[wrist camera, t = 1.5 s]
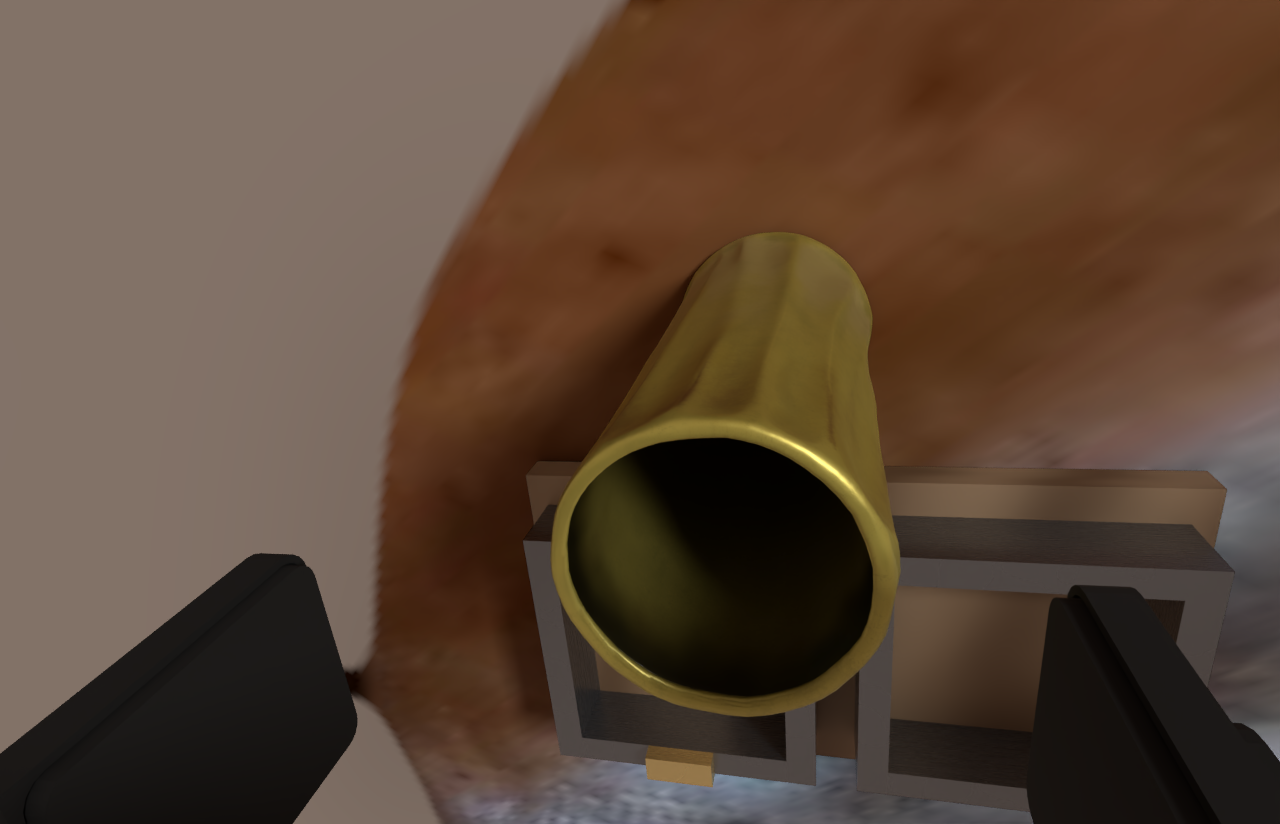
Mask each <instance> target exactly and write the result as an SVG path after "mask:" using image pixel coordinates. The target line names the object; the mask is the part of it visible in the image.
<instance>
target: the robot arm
mask: <svg viewBox="0 0 1280 824" xmlns="http://www.w3.org/2000/svg"><path fill="white" fill-rule="evenodd" d="M356 728H357V713H356V709H355V706H354V703H353V700H352V696H351V693H350V690H349V686H348V683H347V680H346V676H345V673H344V670H343V667H342V663H341V660H340V657H339V653H338V650H337V647H336V644H335V640H334V637H333V634H332V631H331V627H330V624H329V621H328V617H327V614H326V611H325V607H324V604H323V601H322V598H321V594H320V591H319V588H318V584H317V581H316V578H315V575H314V573H313V571H312V570H311V569H310V568H309V567H307V566H306V565H305V563H304V561H303V560H302V559H301V558H300V557H299V556H296V555H289V554H288V555H287V554H262V553H260V554H253V555H252V556H250V557H248V558H246V559H245V560H244V561H243V562H242V563H240V564H239V565H238V566H236V567H235V568H234V569H233V570H231V571H230V572H229V573H228V574H226V575H225V576H224V577H222V578H221V579H220V580H219V581H217V582H216V583H215V584H214V585H212V586H211V587H210V588H209V589H207V590H206V591H205V592H204V593H202V594H201V595H200V596H199V597H197V598H196V599H195V600H193V601H192V602H191V603H190V604H188V605H187V606H186V607H185V608H183V609H182V610H181V611H180V612H178V613H177V614H176V615H175V616H173V617H172V618H171V619H170V620H168V621H167V622H166V623H164V624H163V625H162V626H161V627H159V628H158V629H157V630H156V631H154V632H153V633H152V634H151V635H149V636H148V637H147V638H146V639H144V640H143V641H142V642H141V643H139V644H138V645H137V646H136V647H134V648H133V649H132V650H131V651H129V652H128V653H127V654H125V655H124V656H123V657H122V658H120V659H119V660H118V661H117V662H115V663H114V664H113V665H111V666H110V667H109V668H108V669H106V670H105V671H104V672H103V673H101V674H100V675H99V676H98V677H97V678H95V679H94V680H93V681H91V682H90V683H89V684H88V685H86V686H85V687H84V688H82V689H81V690H80V691H79V692H77V693H76V694H75V695H74V696H72V697H71V698H70V699H69V700H67V701H66V702H65V703H64V704H62V705H61V706H60V707H59V708H57V709H56V710H55V711H54V712H52V713H51V714H50V715H48V716H47V717H46V718H45V719H44V720H42V721H41V722H40V723H38V724H37V725H36V726H35V727H33V728H32V729H31V730H30V731H28V732H27V733H26V734H25V735H23V736H22V737H21V738H20V739H18V740H17V741H16V742H14V743H13V744H12V745H11V746H9V747H8V748H7V749H6V750H4V751H3V752H2V753H1V754H0V824H293V822H294V821H295V820H296V818H297V817H298V816H299V814H300V813H301V811H302V810H303V809H304V807H305V806H306V804H307V803H308V802H309V800H310V799H311V797H312V796H313V795H314V793H315V792H316V791H317V789H318V788H319V787H320V785H321V784H322V782H323V781H324V780H325V778H326V777H327V775H328V774H329V773H330V771H331V770H332V769H333V767H334V766H335V764H336V763H337V761H338V760H339V759H340V757H341V756H342V755H343V753H344V752H345V751H346V749H347V748H348V746H349V745H350V743H351V742H352V740H353V737H354V735H355V733H356ZM1026 784H1027V797H1028V804H1029V809H1030V813H1031V816H1032V819H1033V822H1034V824H1280V761H1279V760H1278V759H1277V757H1276V756H1275V755H1274V753H1273V752H1272V751H1271V749H1270V748H1269V747H1268V745H1267V744H1266V743H1265V742H1264V741H1263V740H1262V739H1261V737H1260V736H1259V735H1258V734H1257V733H1256V732H1255V731H1254V730H1252V729H1251V728H1249V727H1247V726H1245V725H1244V724H1242V723H1232V722H1231V721H1230V719H1229V718H1228V716H1227V715H1226V714H1225V712H1224V711H1223V709H1222V708H1221V707H1220V705H1219V704H1218V702H1217V701H1216V699H1215V698H1214V697H1213V695H1212V694H1211V692H1210V691H1209V690H1208V688H1207V687H1206V685H1205V684H1204V683H1203V681H1202V680H1201V678H1200V677H1199V675H1198V674H1197V673H1196V671H1195V670H1194V668H1193V667H1192V666H1191V664H1190V663H1189V661H1188V660H1187V658H1186V657H1185V656H1184V654H1183V653H1182V651H1181V650H1180V649H1179V647H1178V646H1177V644H1176V643H1175V642H1174V640H1173V639H1172V637H1171V636H1170V634H1169V633H1168V632H1167V630H1166V629H1165V627H1164V626H1163V625H1162V623H1161V622H1160V620H1159V619H1158V618H1157V616H1156V615H1155V613H1154V612H1153V610H1152V609H1151V608H1150V606H1149V605H1148V603H1147V602H1146V601H1145V599H1144V598H1143V596H1142V595H1141V594H1140V593H1139V592H1138V591H1137V590H1136V589H1135V588H1132V587H1121V586H1095V585H1074V586H1072V587H1071V588H1070V590H1069V592H1068V596H1067V598H1058V597H1055V598H1053V599H1052V601H1051V603H1050V607H1049V612H1048V620H1047V627H1046V635H1045V643H1044V650H1043V658H1042V665H1041V673H1040V680H1039V688H1038V695H1037V703H1036V710H1035V718H1034V726H1033V733H1032V741H1031V748H1030V756H1029V763H1028V771H1027V781H1026Z"/></svg>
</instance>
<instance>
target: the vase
mask: <svg viewBox="0 0 1280 824" xmlns="http://www.w3.org/2000/svg"><path fill="white" fill-rule="evenodd" d="M872 319H873V317H872V313H871V308H870V304H869V301H868V297H867V295H866V292H865V290H864V288H863V286H862V284H861V282H860V280H859V278H858V277H857V275H856V273H855V271H854V270H853V269H852V268H851V266H850V265H849V264H848V263H847V262H846V261H845V260H844V259H843V258H842V257H841V256H840V255H838V254H837V253H836V252H835V251H833V250H832V249H830V248H829V247H827V246H825V245H824V244H822V243H820V242H818V241H816V240H814V239H812V238H809V237H806V236H804V235H799V234H795V233H786V232H768V233H759V234H753V235H750V236H746V237H743V238H740V239H738V240H735V241H733V242H731V243H729V244H728V245H726V246H724V247H723V248H721V249H720V250H718V251H717V252H715V253H714V254H713V255H712V256H711V257H710V258H708V259H707V260H706V261H705V262H704V263H703V264H702V266H701V267H700V268H699V269H698V270H697V271H696V273H695V274H694V276H693V278H692V280H691V282H690V284H689V286H688V288H687V290H686V293H685V296H684V299H683V302H682V304H681V305H680V307H679V309H678V311H677V313H676V314H675V316H674V318H673V320H672V321H671V323H670V325H669V326H668V328H667V330H666V331H665V333H664V335H663V336H662V338H661V340H660V341H659V343H658V345H657V346H656V348H655V349H654V351H653V352H652V354H651V355H650V357H649V358H648V360H647V361H646V363H645V365H644V366H643V368H642V370H641V372H640V373H639V375H638V377H637V379H636V380H635V382H634V383H633V385H632V387H631V388H630V390H629V392H628V393H627V395H626V397H625V398H624V400H623V402H622V403H621V405H620V406H619V408H618V409H617V411H616V413H615V414H614V416H613V417H612V419H611V420H610V422H609V423H608V425H607V426H606V428H605V429H604V431H603V432H602V434H601V435H600V437H599V438H598V440H597V441H596V443H595V444H594V445H593V447H592V448H591V450H590V451H589V453H588V454H587V455H586V457H585V458H584V460H583V461H582V462H581V464H580V465H579V467H578V468H577V470H576V471H575V473H574V474H573V476H572V477H571V479H570V481H569V482H568V483H567V485H566V487H565V489H564V491H563V493H562V495H561V497H560V499H559V502H558V505H557V508H556V512H555V515H554V522H553V529H552V538H551V555H550V562H551V572H552V577H553V581H554V584H555V587H556V590H557V593H558V595H559V598H560V600H561V603H562V605H563V607H564V609H565V611H566V613H567V614H568V616H569V618H570V620H571V621H572V622H573V624H574V625H575V626H576V628H577V629H578V630H579V632H580V633H581V634H582V636H583V637H584V638H585V639H586V640H587V642H588V643H589V644H590V645H591V646H592V648H593V649H594V650H595V651H596V652H597V653H598V654H599V655H600V656H601V657H602V659H603V660H604V661H605V662H606V663H608V664H609V665H610V666H611V667H612V668H613V669H614V670H615V671H617V672H618V673H619V674H621V675H622V676H624V677H625V678H627V679H628V680H629V681H631V682H632V683H634V684H635V685H637V686H638V687H640V688H641V689H643V690H644V691H645V692H647V693H649V694H652V695H654V696H656V697H658V698H660V699H663V700H665V701H668V702H670V703H673V704H676V705H680V706H684V707H687V708H692V709H697V710H702V711H707V712H712V713H718V714H723V715H730V716H742V717H753V716H766V715H773V714H778V713H784V712H788V711H791V710H795V709H798V708H802V707H805V706H807V705H810V704H812V703H814V702H817V701H819V700H822V699H824V698H825V697H827V696H828V695H830V694H832V693H833V692H835V691H836V690H838V689H839V688H840V687H841V686H842V685H843V684H845V683H846V682H847V681H848V680H849V679H850V678H852V677H853V676H854V675H855V674H856V673H857V672H858V671H859V670H860V669H862V668H863V667H864V666H865V665H866V663H867V662H868V661H869V660H870V658H871V657H872V656H873V655H874V654H875V652H876V651H877V650H878V648H879V647H880V645H881V643H882V641H883V640H884V638H885V636H886V634H887V631H888V627H889V623H890V620H891V616H892V611H893V606H894V601H895V596H896V592H897V587H898V582H899V577H900V572H901V570H900V550H899V543H898V539H897V536H896V533H895V529H894V524H893V519H892V514H891V508H890V501H889V495H888V488H887V481H886V475H885V470H884V465H883V460H882V455H881V450H880V442H879V431H878V423H877V409H876V401H875V396H874V391H873V387H872V383H871V379H870V375H869V369H868V346H869V342H870V337H871V331H872Z"/></svg>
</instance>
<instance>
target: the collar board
mask: <svg viewBox="0 0 1280 824" xmlns="http://www.w3.org/2000/svg"><path fill="white" fill-rule="evenodd" d="M580 464H581V462H562V461H537V462H536V463H535V465H534V466H533V467H532V468H531V469H530V471H529V472H528V473H527V474H526V480H527V486H528V492H529V498H530V504H531V510H532V516H533V522H534V524H535V523H536V521H537V520H538V518H539V517H540V516H541V514H542V513H543V511H544V510H545V508H546V507H547V506H548V505H558V502H559V499H560V497H561V495H562V493H563V491H564V489H565V487H566V485H567V483H568V482H569V481H570V479H571V477H572V476H573V474H574V473H575V471H576V470H577V468H578V467H579V465H580ZM884 470H885V475H886V481H887V488H888V495H889V501H890V508H891V514H892V515H900V516H932V517H965V518H997V519H1030V520H1062V521H1095V522H1127V523H1159V524H1192V525H1193V526H1194V527H1195V528H1196V530H1197V531H1198V532H1199V533H1200V534H1201V535H1202V536H1203V537H1204V538H1205V540H1206V541H1207V542H1208V543H1209V544H1210V545H1211V546H1212V547H1213V548H1214V546H1215V542H1216V537H1217V533H1218V528H1219V524H1220V519H1221V515H1222V510H1223V506H1224V502H1225V497H1226V493H1227V489H1226V488H1225V487H1224V486H1223V485H1222V484H1221V483H1220V482H1219V481H1218V480H1216V479H1215V478H1214V477H1213V476H1212V475H1211V474H1210V473H1209V472H1208V471H1166V470H1099V469H1032V468H964V467H897V466H884ZM1067 596H1068V595H1065V594H1047V593H1028V592H1009V591H991V590H972V589H953V588H935V587H916V586H898V587H897V592H896V596H895V610H894V635H893V661H892V686H891V711H890V718H892V719H902V720H912V721H923V722H933V723H943V724H954V725H964V726H974V727H985V728H995V729H1005V730H1016V731H1026V732H1033V726H1034V718H1035V710H1036V703H1037V695H1038V688H1039V680H1040V673H1041V665H1042V658H1043V650H1044V643H1045V635H1046V627H1047V620H1048V612H1049V607H1050V603H1051V601H1052V599H1053V598H1055V597H1058V598H1067ZM595 656H596V663H597V670H598V677H599V684H600V690H603V691H613V692H624V693H634V694H644V695H652V694H649V693H647V692H645V691H644V690H643V689H641V688H640V687H638V686H637V685H635V684H634V683H632V682H631V681H629V680H628V679H627V678H625V677H624V676H622V675H621V674H619V673H618V672H617V671H615V670H614V669H613V668H612V667H611V666H610V665H609V664H608V663H606V662H605V661H604V660H603V659H602V657H601V656H600V655H599V654H598V653H597V652H596V651H595ZM854 718H855V675H854V676H853V677H852V678H850V679H849V680H848V681H847V682H846V683H845V684H843V685H842V686H841V687H840V688H839V689H838V690H836V691H835V692H833V693H832V694H830V695H828V696H827V697H825V698H824V699H822V700H819V701H817V702H816V755H822V756H831V757H840V758H849V759H855V741H854Z"/></svg>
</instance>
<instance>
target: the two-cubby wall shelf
mask: <svg viewBox="0 0 1280 824" xmlns="http://www.w3.org/2000/svg"><path fill="white" fill-rule="evenodd" d="M556 508H557V505H548V506H547V507H546V508H545V510H544V511H543V513H542V514H541V516H540V517H539V518H538V520H537V521H536V523H535V524H534V525H533V527H532V528H531V530H530V531H529V533H528V534H527V535H526V537H525V538H524V540H523V544H524V550H525V556H526V561H527V567H528V572H529V578H530V584H531V589H532V595H533V601H534V606H535V612H536V618H537V623H538V629H539V635H540V640H541V646H542V652H543V657H544V663H545V668H546V674H547V680H548V685H549V691H550V697H551V702H552V708H553V714H554V719H555V725H556V731H557V736H558V742H559V748H560V753H561V755H567V756H576V757H584V758H592V759H600V760H608V761H617V762H625V763H633V764H641V765H646V769H647V778H648V779H652V780H660V781H667V782H675V783H683V784H691V785H699V786H707V787H713V782H714V775H715V774H723V775H732V776H740V777H748V778H756V779H764V780H773V781H781V782H789V783H797V784H805V785H814V786H816V702H814V703H812V704H810V705H807V706H805V707H802V708H798V709H795V710H791V711H788V712H784V713H778V714H773V715H766V716H753V717H742V716H730V715H723V714H718V713H712V712H707V711H702V710H697V709H692V708H687V707H684V706H680V705H676V704H673V703H670V702H668V701H665V700H663V699H660V698H658V697H656V696H654V695H644V694H634V693H624V692H613V691H603V690H600V684H599V677H598V670H597V663H596V656H595V650H594V649H593V648H592V646H591V645H590V644H589V643H588V642H587V640H586V639H585V638H584V637H583V636H582V634H581V633H580V632H579V630H578V629H577V628H576V626H575V625H574V624H573V622H572V621H571V620H570V618H569V616H568V614H567V613H566V611H565V609H564V607H563V605H562V603H561V600H560V598H559V595H558V593H557V590H556V587H555V584H554V581H553V577H552V572H551V562H550V555H551V538H552V529H553V522H554V515H555V512H556ZM892 519H893V524H894V529H895V533H896V536H897V539H898V543H899V550H900V570H901V572H900V577H899V582H898V586H916V587H935V588H953V589H972V590H991V591H1009V592H1028V593H1047V594H1065V595H1068V592H1069V590H1070V588H1071V587H1072V586H1074V585H1095V586H1121V587H1132V588H1135V589H1136V590H1137V591H1138V592H1139V593H1140V594H1141V595H1142V596H1143V598H1144V599H1145V601H1146V602H1147V603H1148V605H1149V606H1150V608H1151V609H1152V610H1153V612H1154V613H1155V615H1156V616H1157V618H1158V619H1159V620H1160V622H1161V623H1162V625H1163V626H1164V627H1165V629H1166V630H1167V632H1168V633H1169V634H1170V636H1171V637H1172V639H1173V640H1174V642H1175V643H1176V644H1177V646H1178V647H1179V649H1180V650H1181V651H1182V653H1183V654H1184V656H1185V657H1186V658H1187V660H1188V661H1189V663H1190V664H1191V666H1192V667H1193V668H1194V670H1195V671H1196V673H1197V674H1198V675H1199V677H1200V678H1201V680H1202V681H1203V683H1204V684H1205V685H1206V687H1208V683H1209V679H1210V674H1211V670H1212V666H1213V662H1214V658H1215V654H1216V649H1217V645H1218V641H1219V637H1220V633H1221V628H1222V624H1223V620H1224V616H1225V612H1226V608H1227V603H1228V599H1229V595H1230V591H1231V587H1232V582H1233V578H1234V574H1235V572H1234V571H1233V569H1232V568H1231V567H1230V566H1229V565H1228V564H1227V563H1226V562H1225V561H1224V559H1223V558H1222V557H1221V556H1220V555H1219V554H1218V553H1217V552H1216V551H1215V550H1214V548H1213V547H1212V546H1211V545H1210V544H1209V543H1208V542H1207V541H1206V540H1205V538H1204V537H1203V536H1202V535H1201V534H1200V533H1199V532H1198V531H1197V530H1196V528H1195V527H1194V526H1193V525H1192V524H1159V523H1127V522H1095V521H1062V520H1030V519H997V518H965V517H932V516H900V515H892ZM894 610H895V601H894V606H893V611H892V616H891V620H890V623H889V627H888V631H887V634H886V636H885V638H884V640H883V641H882V643H881V645H880V647H879V648H878V650H877V651H876V652H875V654H874V655H873V656H872V657H871V658H870V660H869V661H868V662H867V663H866V665H865V666H864V667H863V668H862V669H860V670H859V671H858V672H857V673H856V674H855V718H854V741H855V760H856V780H857V791H863V792H871V793H879V794H888V795H896V796H904V797H912V798H920V799H929V800H937V801H945V802H953V803H961V804H970V805H978V806H986V807H994V808H1002V809H1011V810H1019V811H1027V812H1030V809H1029V804H1028V797H1027V784H1026V781H1027V771H1028V763H1029V756H1030V748H1031V741H1032V733H1033V732H1026V731H1016V730H1005V729H995V728H985V727H974V726H964V725H954V724H943V723H933V722H923V721H912V720H902V719H892V718H890V711H891V686H892V661H893V635H894Z"/></svg>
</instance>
